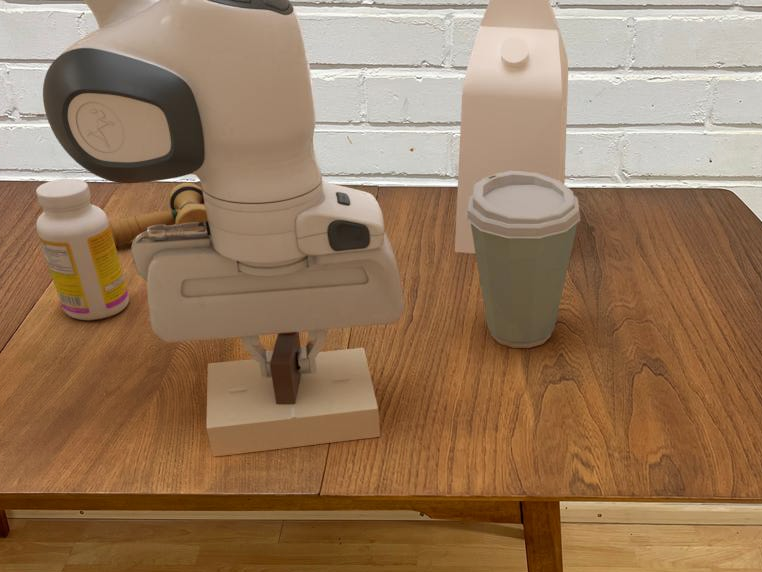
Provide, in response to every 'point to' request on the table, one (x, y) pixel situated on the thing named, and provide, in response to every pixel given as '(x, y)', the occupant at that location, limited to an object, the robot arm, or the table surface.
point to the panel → (290, 405)
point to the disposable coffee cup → (522, 252)
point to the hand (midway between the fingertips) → (289, 372)
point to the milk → (512, 101)
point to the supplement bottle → (80, 251)
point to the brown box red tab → (285, 368)
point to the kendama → (164, 214)
